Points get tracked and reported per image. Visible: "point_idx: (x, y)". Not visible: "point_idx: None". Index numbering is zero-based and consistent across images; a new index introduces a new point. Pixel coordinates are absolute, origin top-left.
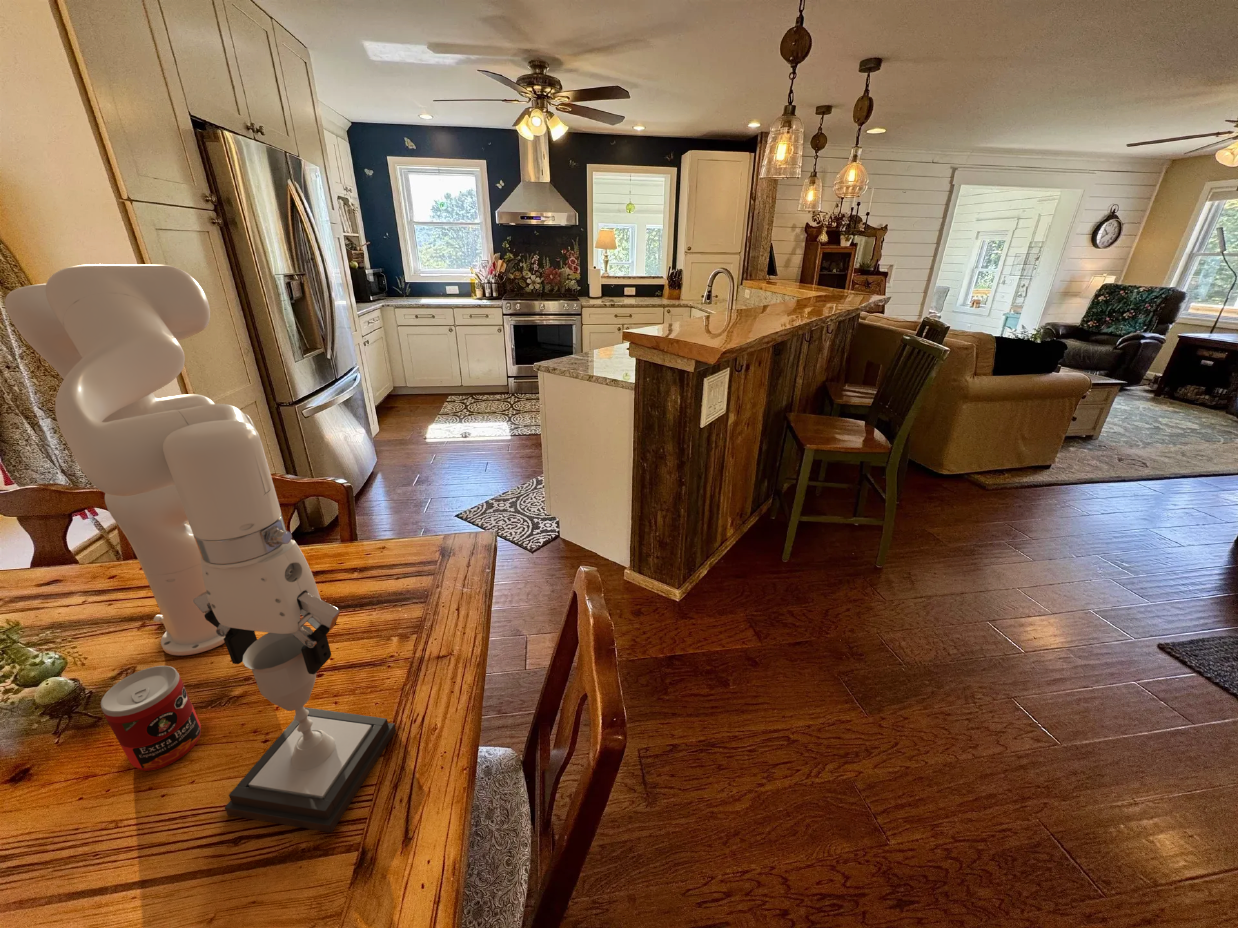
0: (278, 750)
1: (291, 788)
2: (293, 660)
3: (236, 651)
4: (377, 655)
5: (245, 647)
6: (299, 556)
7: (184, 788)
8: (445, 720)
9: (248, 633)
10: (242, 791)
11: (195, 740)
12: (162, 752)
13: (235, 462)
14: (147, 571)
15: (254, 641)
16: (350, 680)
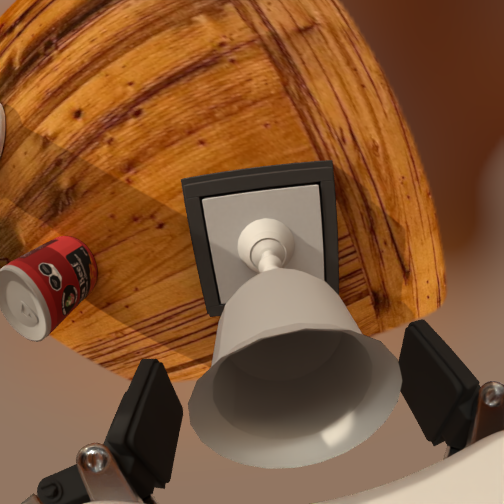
0: (214, 258)
1: None
2: (373, 415)
3: (174, 439)
4: (196, 50)
5: (167, 414)
6: None
7: (136, 296)
8: (381, 133)
9: (151, 431)
10: (222, 310)
11: (91, 257)
12: (87, 292)
13: None
14: None
15: (157, 387)
16: (190, 102)
